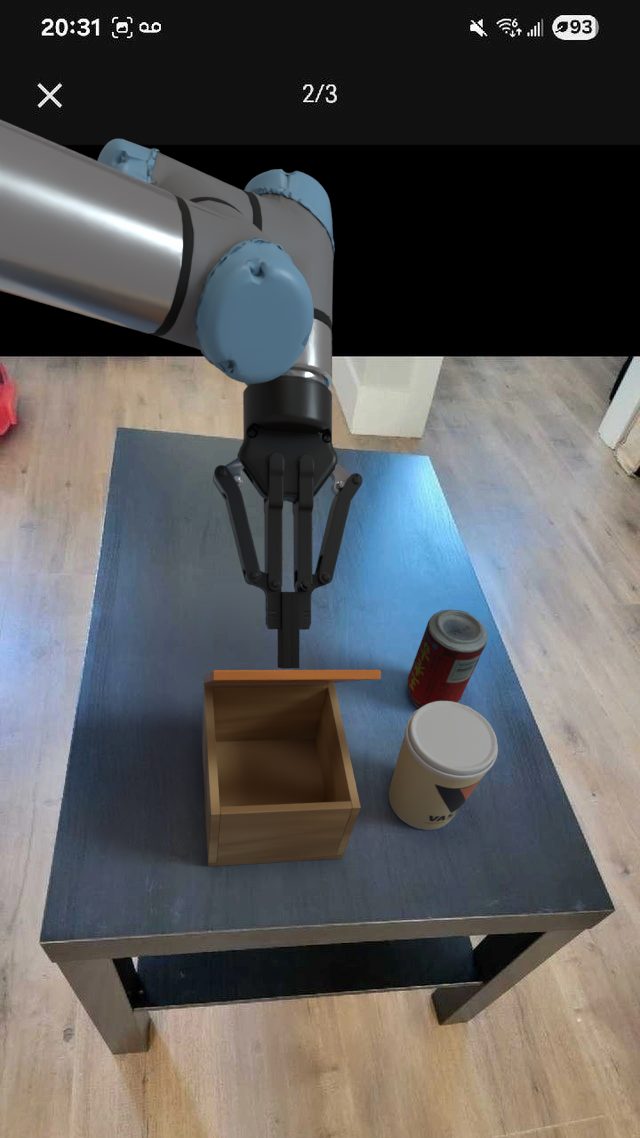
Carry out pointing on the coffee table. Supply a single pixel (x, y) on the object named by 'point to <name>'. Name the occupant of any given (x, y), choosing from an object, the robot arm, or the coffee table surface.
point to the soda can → (446, 657)
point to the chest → (276, 773)
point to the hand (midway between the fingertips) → (288, 667)
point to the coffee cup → (440, 763)
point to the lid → (290, 676)
